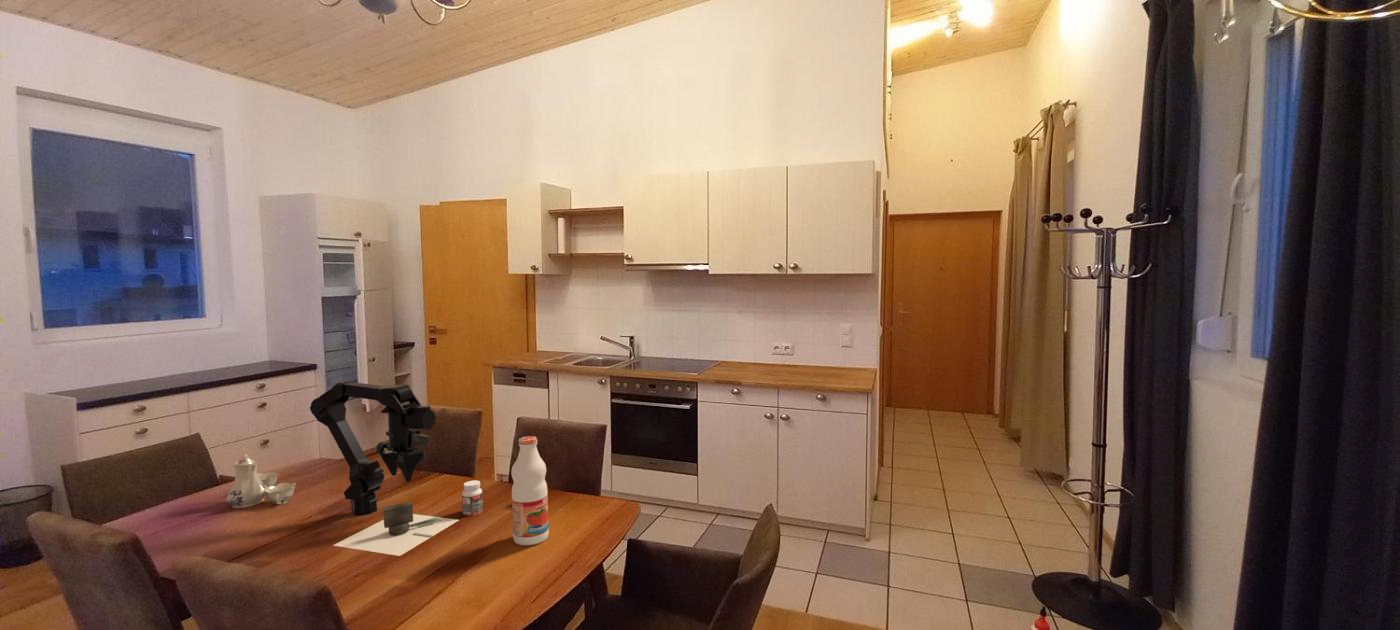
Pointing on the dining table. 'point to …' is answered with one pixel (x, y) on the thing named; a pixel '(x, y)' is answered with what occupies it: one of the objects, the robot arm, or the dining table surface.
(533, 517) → the fruit juice
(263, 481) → the chinaware
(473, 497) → the pill bottle
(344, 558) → the dining table surface
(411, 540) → the dial plate
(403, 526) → the dark grey angled piece
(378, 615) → the dining table surface
